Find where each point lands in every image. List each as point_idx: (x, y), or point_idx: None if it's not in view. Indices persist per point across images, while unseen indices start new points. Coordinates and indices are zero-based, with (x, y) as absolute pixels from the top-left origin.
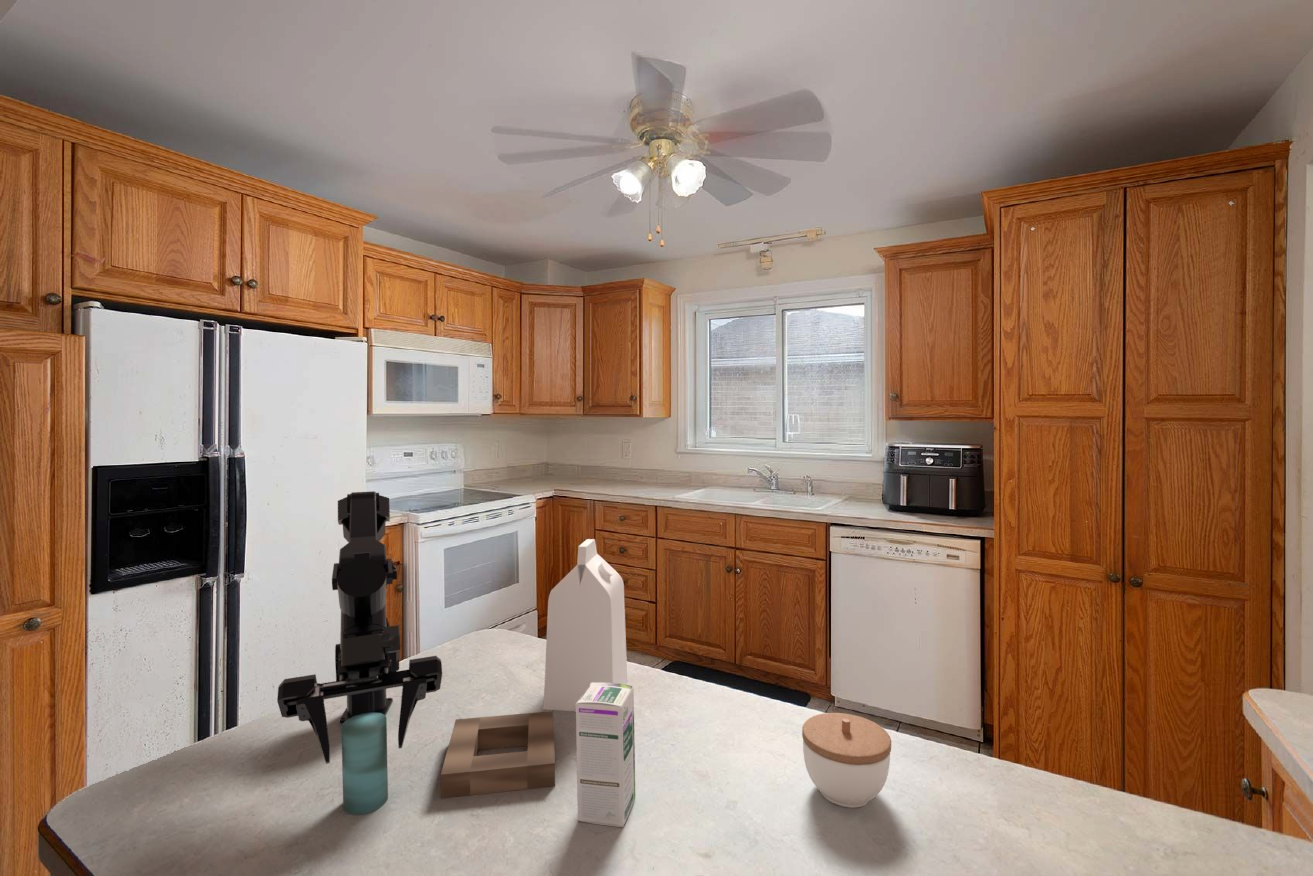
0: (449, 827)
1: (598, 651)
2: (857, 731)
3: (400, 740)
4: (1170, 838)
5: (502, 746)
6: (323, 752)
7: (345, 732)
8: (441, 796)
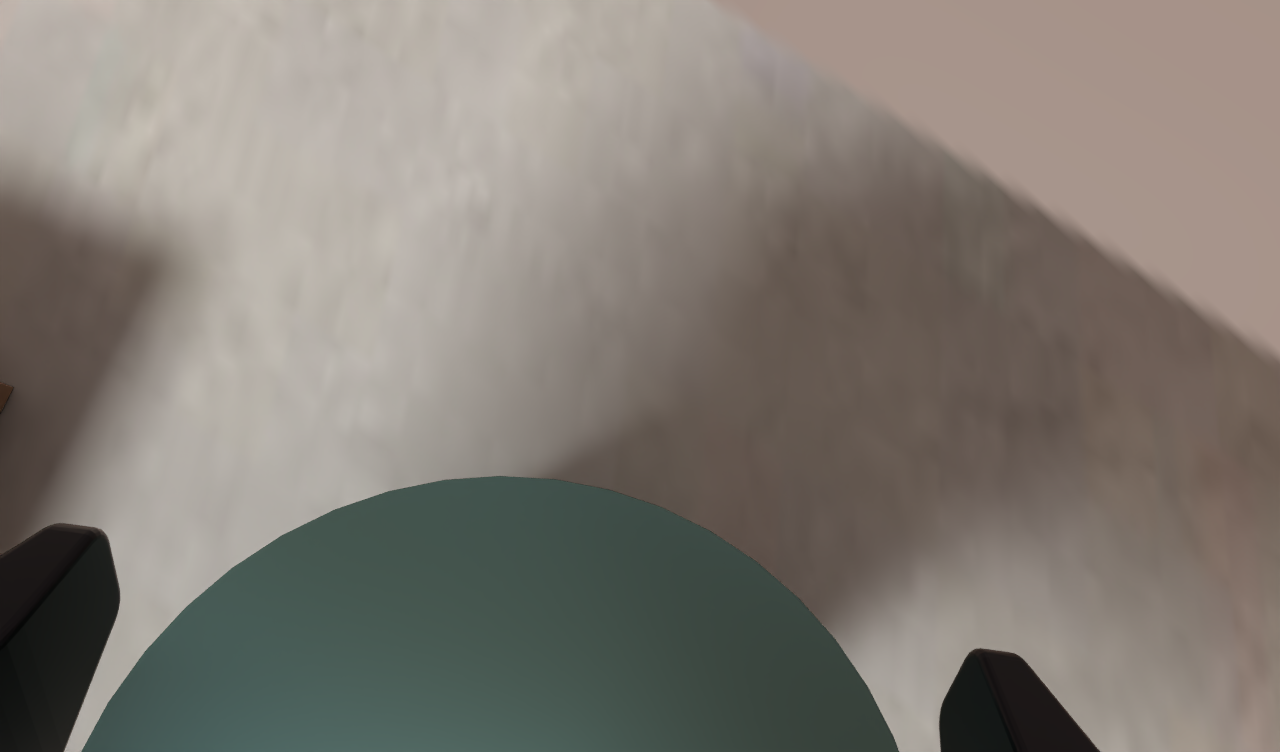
0: (79, 15)
1: None
2: None
3: (41, 563)
4: None
5: None
6: (1081, 737)
7: (868, 699)
8: (2, 384)
